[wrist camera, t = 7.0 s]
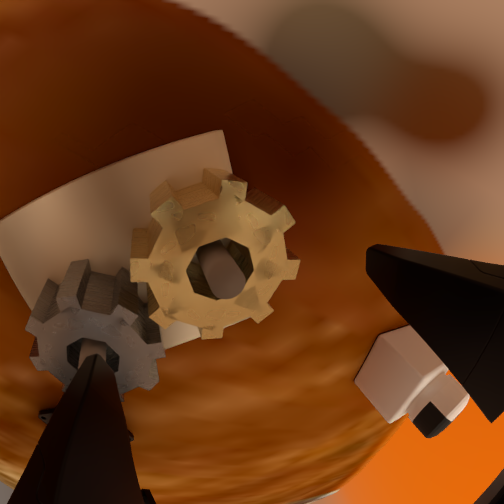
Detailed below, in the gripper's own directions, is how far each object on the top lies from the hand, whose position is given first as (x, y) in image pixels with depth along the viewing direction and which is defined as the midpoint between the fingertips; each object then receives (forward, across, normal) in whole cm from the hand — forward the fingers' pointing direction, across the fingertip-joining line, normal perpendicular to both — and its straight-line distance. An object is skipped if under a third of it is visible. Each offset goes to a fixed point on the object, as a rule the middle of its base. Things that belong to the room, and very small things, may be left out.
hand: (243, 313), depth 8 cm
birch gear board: (+7, +4, 0) cm, 8 cm away
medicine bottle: (+7, -15, +20) cm, 26 cm away
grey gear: (+6, +6, +2) cm, 9 cm away
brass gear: (+6, 0, 0) cm, 6 cm away
